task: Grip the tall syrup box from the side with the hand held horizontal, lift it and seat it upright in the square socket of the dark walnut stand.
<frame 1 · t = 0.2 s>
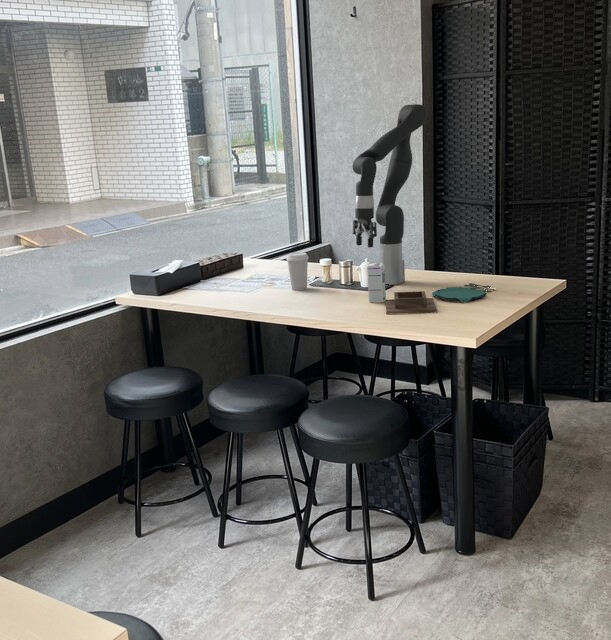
hand: (364, 246, 319), 18 cm above the table, tool pointing down, fingers open, 8 cm apart
coffee cup: (299, 289, 330), on the table
syrup box: (377, 301, 300), on the table
green flat pad: (466, 295, 302), on the table
socket stand: (410, 307, 287), on the table
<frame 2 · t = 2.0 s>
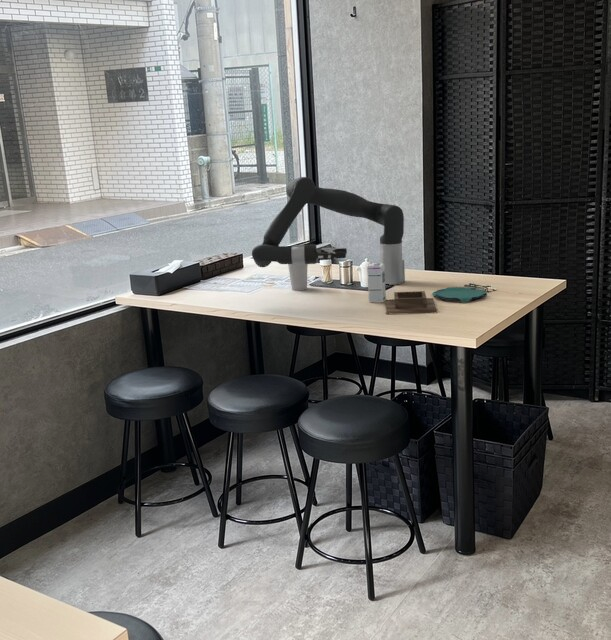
hand: (346, 253, 296), 19 cm above the table, tool horizontal, fingers open, 8 cm apart
nothing on the table moved.
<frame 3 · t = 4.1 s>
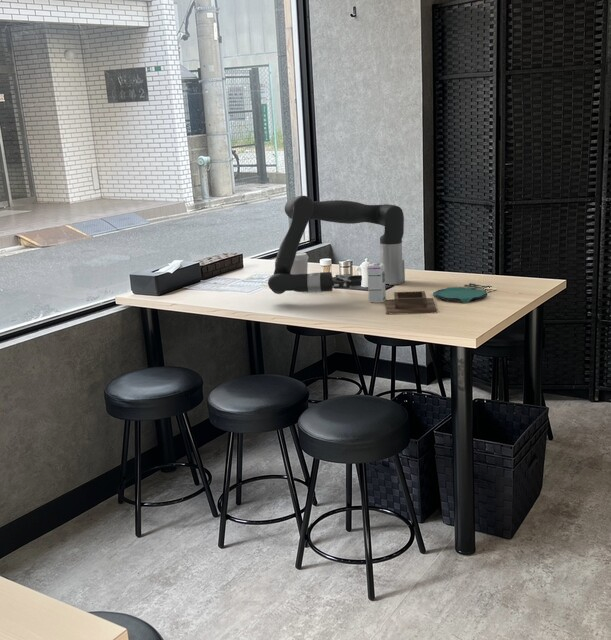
hand: (361, 280, 298), 8 cm above the table, tool horizontal, fingers open, 8 cm apart
nothing on the table moved.
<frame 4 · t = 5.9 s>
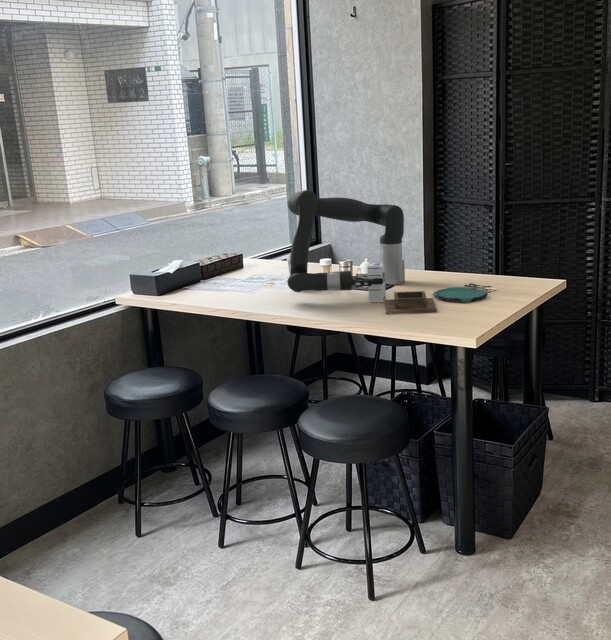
hand: (382, 279, 297), 9 cm above the table, tool horizontal, fingers closed on syrup box, 6 cm apart
syrup box: (377, 301, 300), on the table, touching gripper
everything else where it was.
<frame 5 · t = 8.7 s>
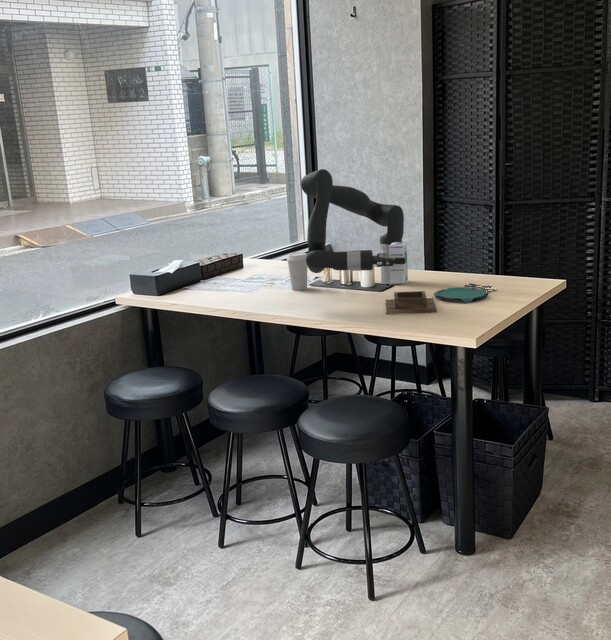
hand: (404, 259, 285), 18 cm above the table, tool horizontal, fingers closed on syrup box, 6 cm apart
syrup box: (398, 282, 288), point 9 cm above the table, touching gripper
everything else where it was.
when the fingers open (11 cm above the table, at t = 11.3 s): syrup box drops 1 cm, resting on socket stand.
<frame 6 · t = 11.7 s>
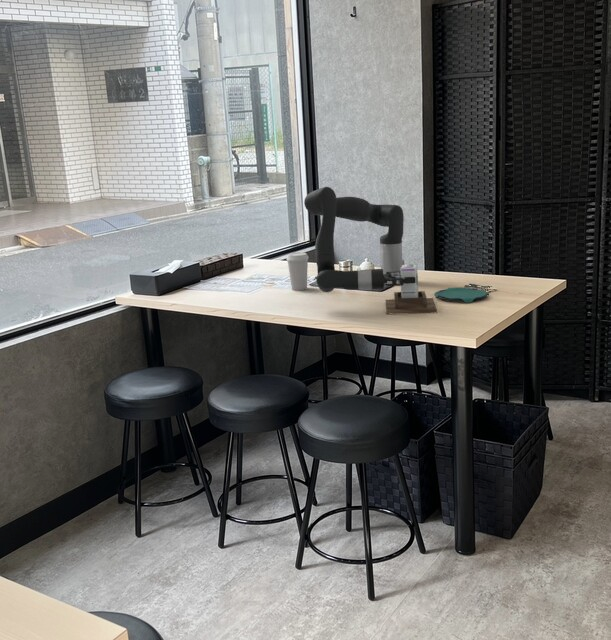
hand: (414, 277, 284), 11 cm above the table, tool horizontal, fingers open, 8 cm apart
syrup box: (409, 304, 286), point 1 cm above the table, touching socket stand
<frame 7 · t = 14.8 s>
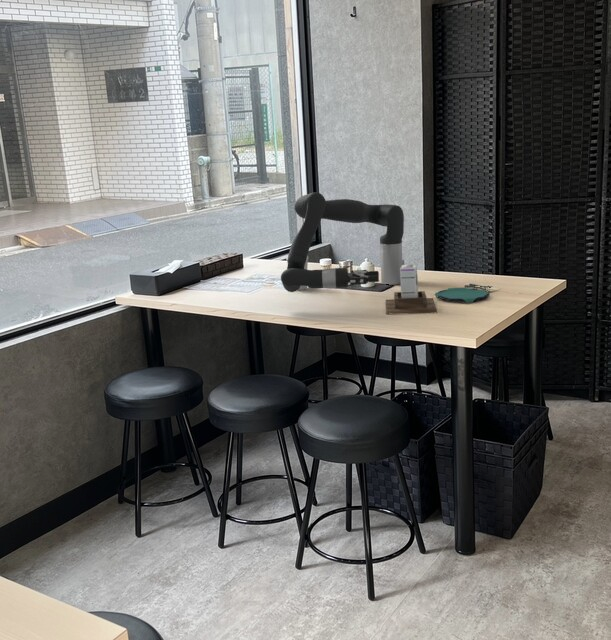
hand: (378, 276, 285), 12 cm above the table, tool horizontal, fingers open, 8 cm apart
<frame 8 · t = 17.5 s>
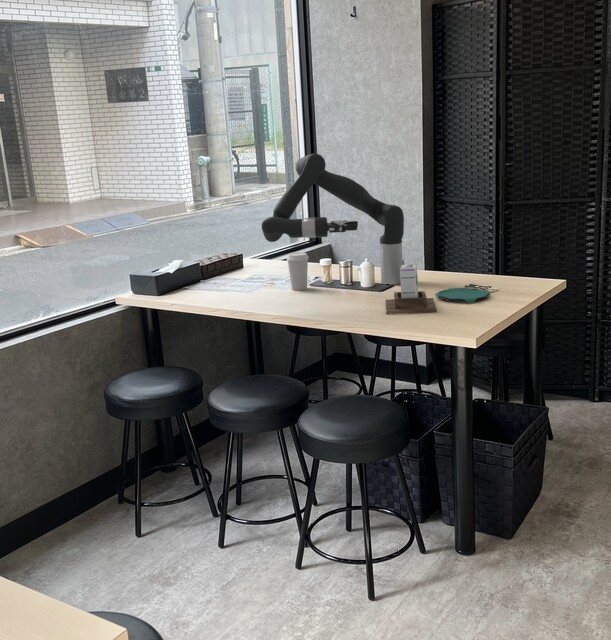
hand: (357, 225, 291), 30 cm above the table, tool horizontal, fingers open, 8 cm apart
at the end: syrup box 0.2 cm off-centre on the socket stand, point 1.0 cm above the socket stand's base; syrup box tilted 0°; the gripper is holding nothing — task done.
